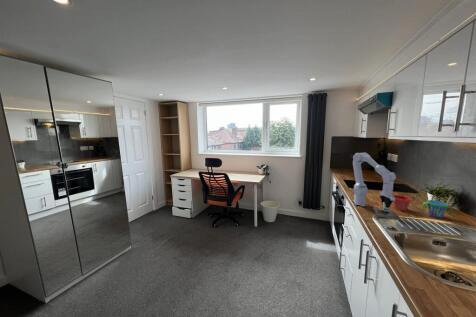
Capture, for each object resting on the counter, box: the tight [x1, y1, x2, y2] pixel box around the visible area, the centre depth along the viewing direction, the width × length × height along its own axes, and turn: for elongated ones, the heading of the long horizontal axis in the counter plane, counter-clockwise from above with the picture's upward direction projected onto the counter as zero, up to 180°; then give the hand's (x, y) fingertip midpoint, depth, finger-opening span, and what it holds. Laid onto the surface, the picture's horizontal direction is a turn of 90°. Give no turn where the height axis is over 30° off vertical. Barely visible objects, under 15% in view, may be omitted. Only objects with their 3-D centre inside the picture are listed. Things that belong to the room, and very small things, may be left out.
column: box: [381, 202, 390, 212], centre depth 136 cm, size 4×4×6 cm
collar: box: [372, 207, 400, 220], centre depth 137 cm, size 12×12×4 cm
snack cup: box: [421, 199, 453, 219], centre depth 133 cm, size 16×10×10 cm
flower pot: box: [392, 194, 412, 212], centre depth 146 cm, size 11×11×10 cm
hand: (385, 206), depth 136 cm, fingers closed on column, 4 cm apart
